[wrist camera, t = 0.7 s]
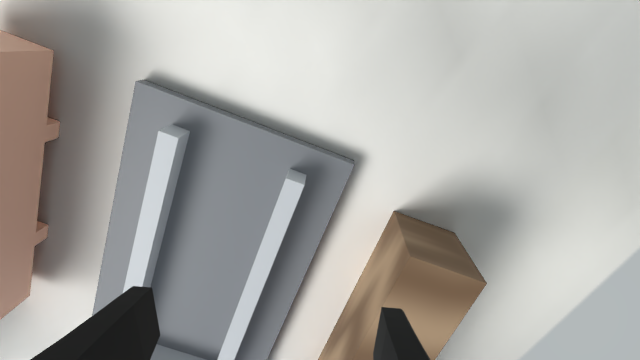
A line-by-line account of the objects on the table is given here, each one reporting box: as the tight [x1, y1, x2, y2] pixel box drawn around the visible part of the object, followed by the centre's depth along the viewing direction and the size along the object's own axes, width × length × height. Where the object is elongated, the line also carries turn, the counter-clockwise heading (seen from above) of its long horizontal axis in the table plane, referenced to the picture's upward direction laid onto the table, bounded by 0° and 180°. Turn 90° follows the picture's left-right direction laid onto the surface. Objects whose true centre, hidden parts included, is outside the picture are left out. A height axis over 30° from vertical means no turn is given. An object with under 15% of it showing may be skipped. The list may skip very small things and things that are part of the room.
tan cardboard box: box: [318, 211, 487, 360], centre depth 21 cm, size 14×4×5 cm, turn 159°
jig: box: [92, 80, 354, 360], centre depth 21 cm, size 18×12×2 cm, turn 159°
